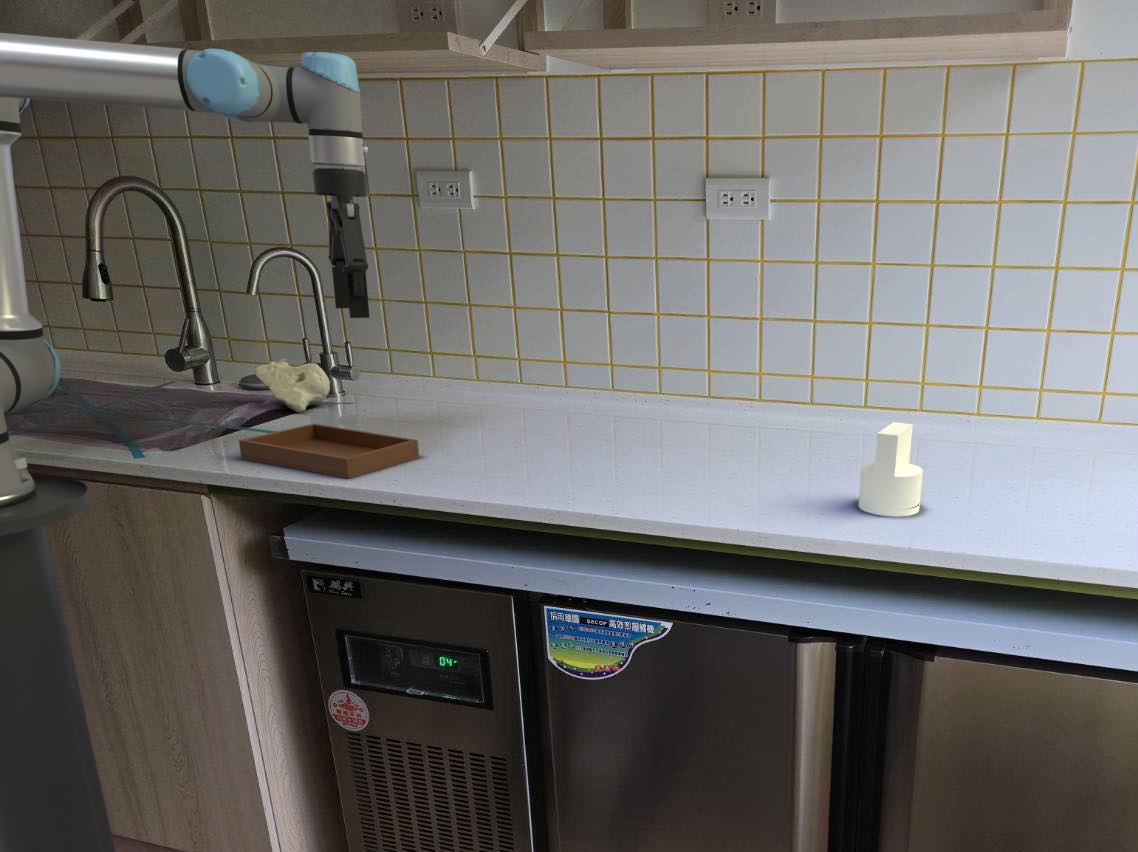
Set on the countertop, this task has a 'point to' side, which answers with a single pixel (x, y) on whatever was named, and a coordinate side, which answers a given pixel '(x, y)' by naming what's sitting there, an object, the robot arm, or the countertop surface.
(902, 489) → the cylinder with rectangular tab
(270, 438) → the tray
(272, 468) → the countertop surface
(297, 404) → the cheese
